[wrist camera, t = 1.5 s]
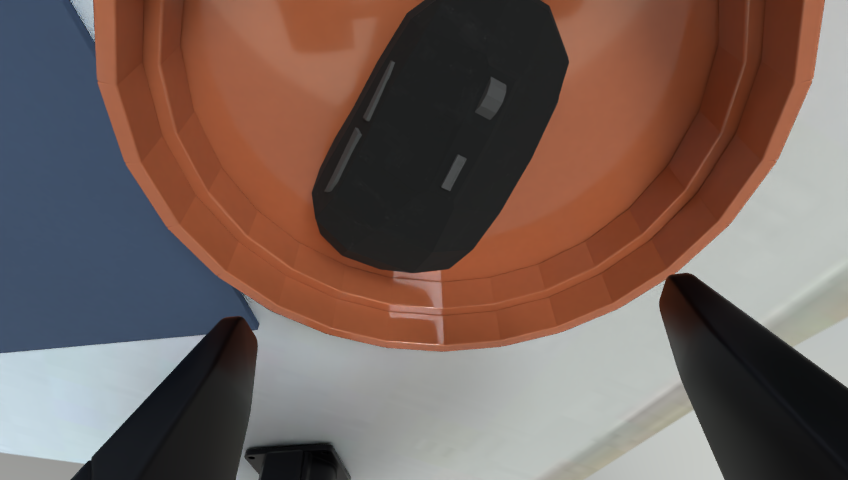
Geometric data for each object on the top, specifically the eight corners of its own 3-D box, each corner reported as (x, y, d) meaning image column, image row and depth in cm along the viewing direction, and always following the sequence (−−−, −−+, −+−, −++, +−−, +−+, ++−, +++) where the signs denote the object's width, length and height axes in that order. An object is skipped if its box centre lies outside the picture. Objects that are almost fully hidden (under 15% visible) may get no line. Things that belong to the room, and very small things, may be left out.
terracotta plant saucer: (670, 268, 23) (704, 330, 20) (275, 305, 24) (257, 367, 21) (879, -395, 10) (1056, -471, 7) (-4, -225, 11) (-137, -234, 8)
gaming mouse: (679, -56, 13) (753, -17, 10) (425, 269, 22) (426, 341, 19) (492, -202, 11) (519, -205, 8) (293, 220, 20) (272, 292, 17)
